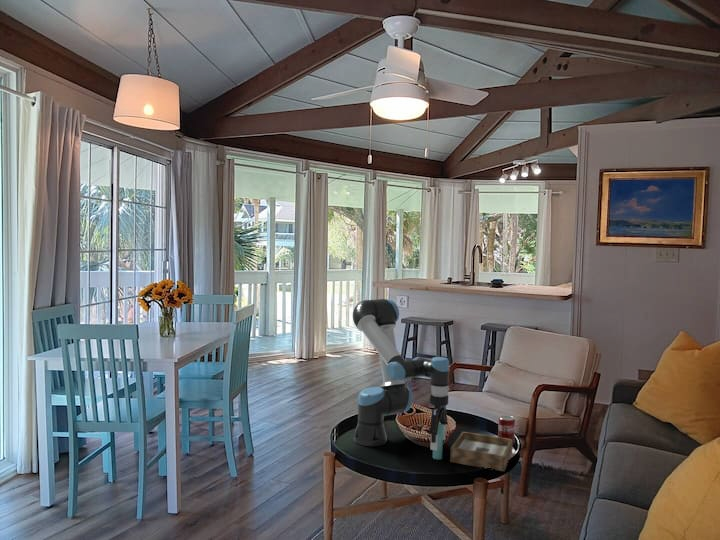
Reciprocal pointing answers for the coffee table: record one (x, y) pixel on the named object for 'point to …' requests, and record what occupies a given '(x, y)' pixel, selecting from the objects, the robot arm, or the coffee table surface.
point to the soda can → (506, 427)
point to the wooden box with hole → (481, 451)
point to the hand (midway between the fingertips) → (438, 444)
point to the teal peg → (439, 443)
